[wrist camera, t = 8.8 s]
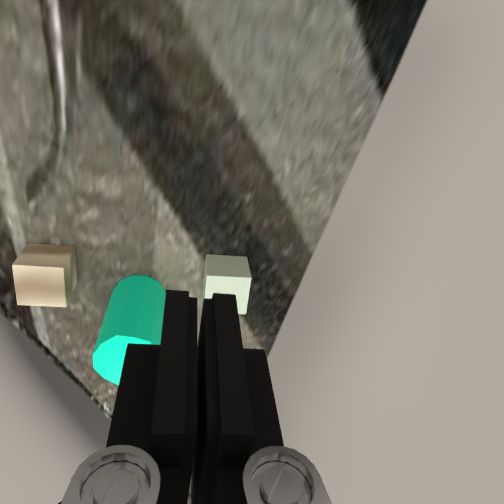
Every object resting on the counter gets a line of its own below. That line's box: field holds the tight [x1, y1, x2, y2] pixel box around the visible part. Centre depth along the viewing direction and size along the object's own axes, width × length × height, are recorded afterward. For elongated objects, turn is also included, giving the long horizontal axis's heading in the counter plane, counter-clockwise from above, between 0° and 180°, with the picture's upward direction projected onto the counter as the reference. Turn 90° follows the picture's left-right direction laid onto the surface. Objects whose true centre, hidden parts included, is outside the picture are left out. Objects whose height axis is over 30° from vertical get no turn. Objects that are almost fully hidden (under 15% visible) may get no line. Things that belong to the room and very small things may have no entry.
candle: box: [93, 275, 166, 385], centre depth 43 cm, size 6×6×12 cm
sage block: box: [203, 254, 251, 314], centre depth 46 cm, size 4×4×4 cm
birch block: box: [12, 243, 77, 307], centre depth 43 cm, size 4×4×4 cm
